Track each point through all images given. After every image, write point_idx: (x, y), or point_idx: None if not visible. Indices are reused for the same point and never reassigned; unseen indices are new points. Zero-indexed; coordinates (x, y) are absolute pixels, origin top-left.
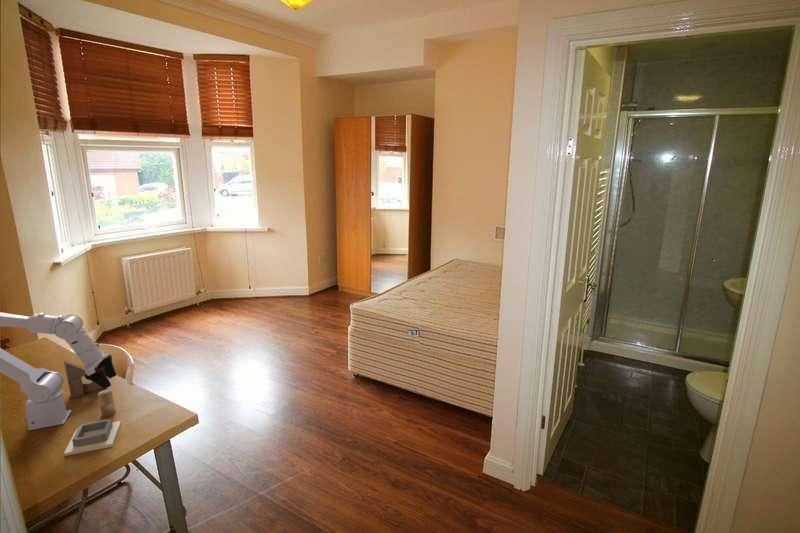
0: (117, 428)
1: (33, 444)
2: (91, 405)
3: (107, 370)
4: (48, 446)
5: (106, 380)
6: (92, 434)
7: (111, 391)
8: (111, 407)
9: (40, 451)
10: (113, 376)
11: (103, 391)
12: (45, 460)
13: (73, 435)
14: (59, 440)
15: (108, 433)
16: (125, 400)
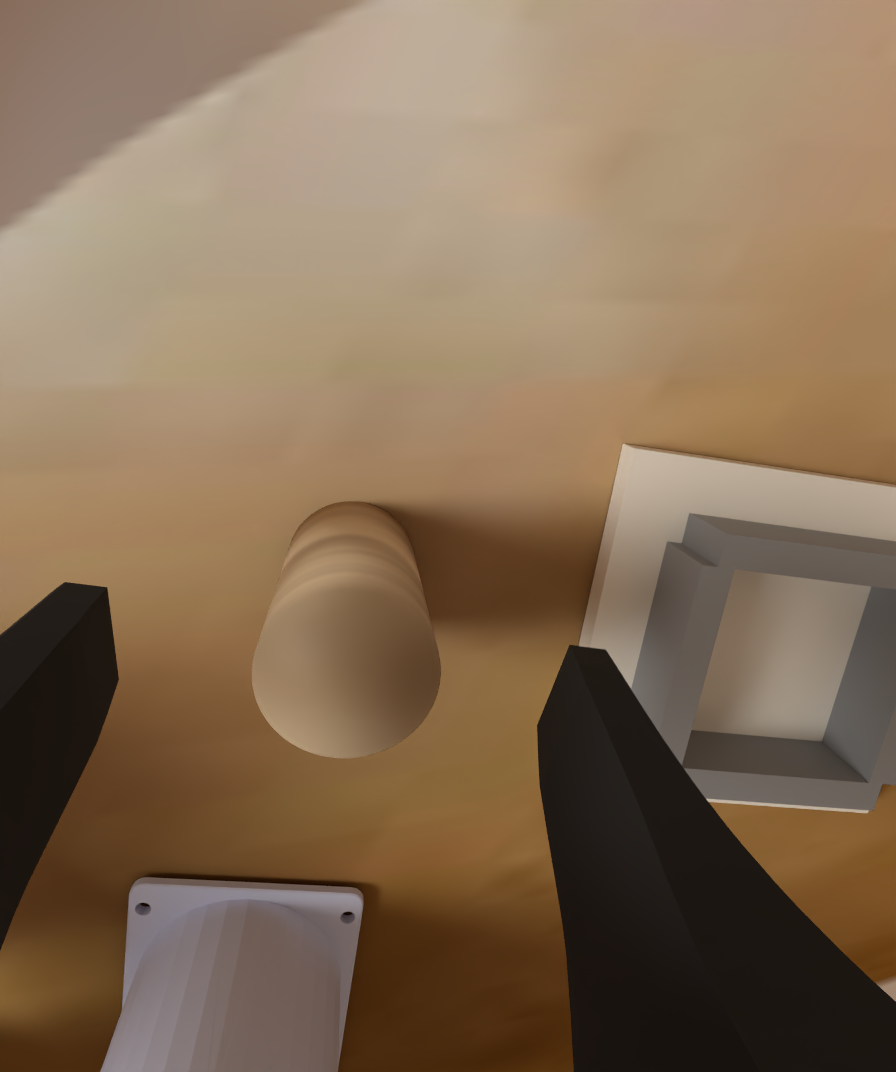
0: (759, 469)
1: (556, 1005)
2: None
3: (11, 818)
4: None
5: (678, 778)
6: (728, 662)
7: (354, 596)
8: (408, 551)
9: None
10: (108, 631)
11: (295, 700)
12: (819, 893)
13: None
14: None
15: (851, 540)
16: (125, 416)
